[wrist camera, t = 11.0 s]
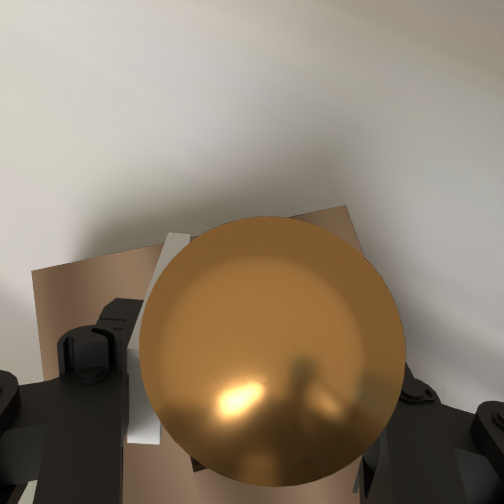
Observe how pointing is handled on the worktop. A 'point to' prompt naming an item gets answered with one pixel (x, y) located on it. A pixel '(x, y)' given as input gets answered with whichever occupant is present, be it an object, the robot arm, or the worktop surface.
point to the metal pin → (272, 351)
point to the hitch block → (168, 452)
